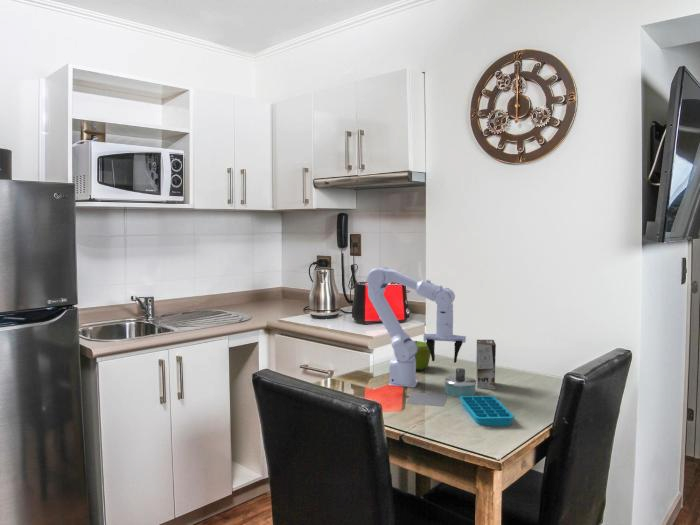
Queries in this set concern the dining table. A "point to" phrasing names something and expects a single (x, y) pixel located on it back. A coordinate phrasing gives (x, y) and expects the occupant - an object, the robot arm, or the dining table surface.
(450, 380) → the lid
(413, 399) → the mat
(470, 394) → the bowl
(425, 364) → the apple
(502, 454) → the dining table surface
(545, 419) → the dining table surface
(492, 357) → the coffee box
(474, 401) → the ice cube tray
